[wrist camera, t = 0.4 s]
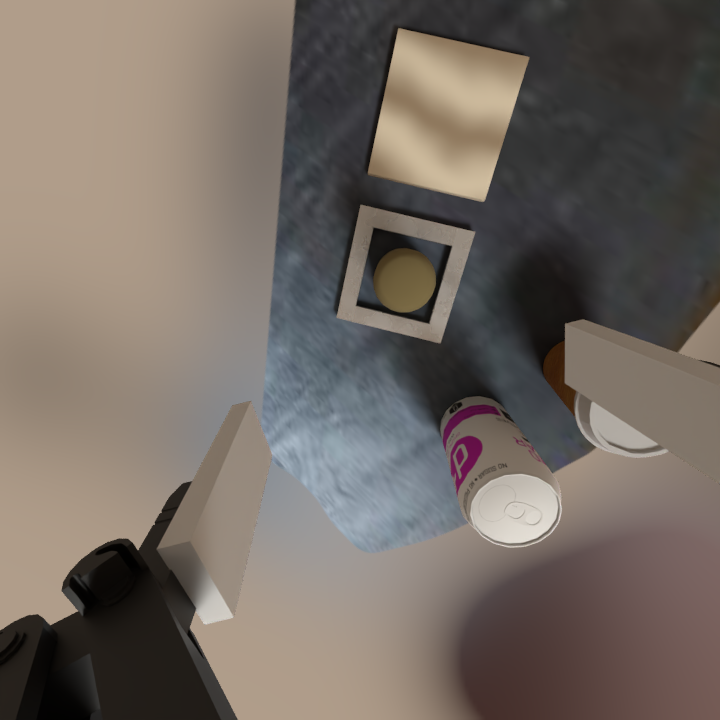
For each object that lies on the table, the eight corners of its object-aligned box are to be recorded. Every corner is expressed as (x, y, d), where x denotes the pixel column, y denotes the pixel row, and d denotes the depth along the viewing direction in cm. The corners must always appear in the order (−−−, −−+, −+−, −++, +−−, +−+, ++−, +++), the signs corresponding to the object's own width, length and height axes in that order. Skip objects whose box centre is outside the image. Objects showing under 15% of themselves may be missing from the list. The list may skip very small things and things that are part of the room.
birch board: (398, 33, 31) (398, 28, 31) (526, 62, 31) (529, 57, 30) (368, 175, 35) (367, 173, 34) (482, 202, 35) (484, 200, 34)
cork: (413, 236, 36) (421, 226, 26) (439, 286, 37) (457, 296, 27) (364, 266, 38) (352, 268, 27) (391, 314, 39) (389, 333, 28)
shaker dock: (361, 206, 36) (360, 204, 35) (473, 232, 35) (475, 231, 35) (338, 316, 39) (336, 317, 38) (439, 341, 39) (440, 343, 38)
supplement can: (428, 440, 43) (445, 531, 28) (457, 383, 40) (492, 451, 26) (488, 464, 43) (535, 567, 28) (521, 409, 40) (591, 490, 26)
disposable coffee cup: (625, 323, 36) (731, 352, 25) (609, 405, 39) (698, 465, 28) (533, 323, 37) (594, 350, 26) (522, 403, 40) (574, 460, 29)
